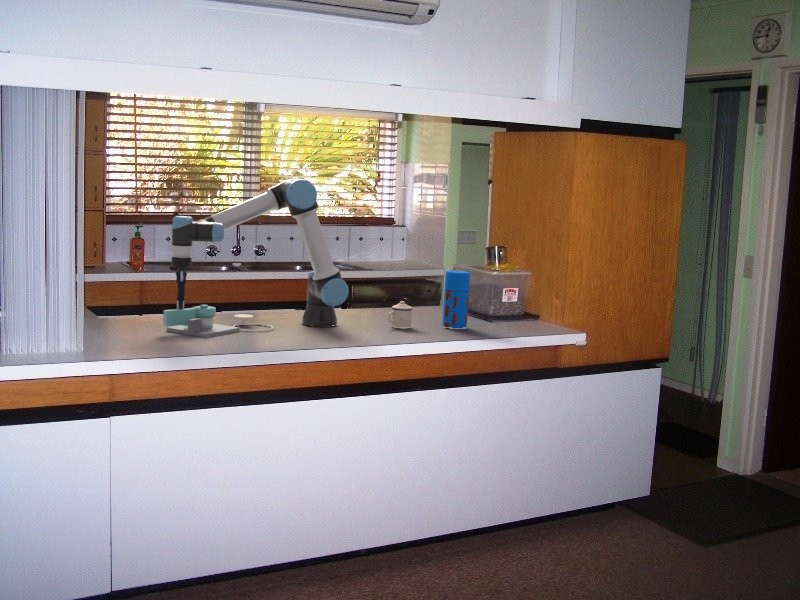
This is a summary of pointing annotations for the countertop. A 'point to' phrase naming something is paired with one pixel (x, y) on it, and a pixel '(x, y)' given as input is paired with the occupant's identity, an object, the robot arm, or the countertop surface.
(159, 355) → the countertop surface
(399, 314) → the teacup with lid
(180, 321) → the domed saucepan
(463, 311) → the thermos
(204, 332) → the post board
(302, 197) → the robot arm
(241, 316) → the hand towel holder
